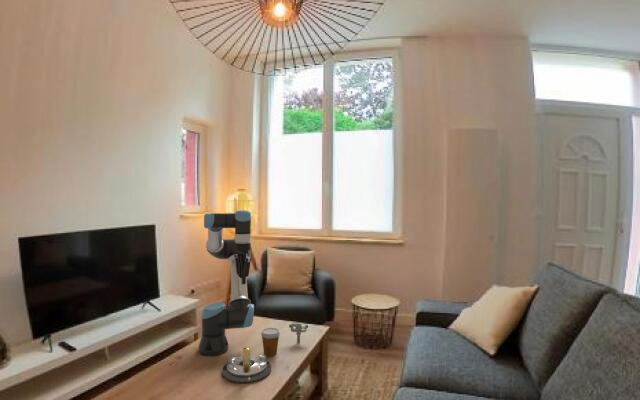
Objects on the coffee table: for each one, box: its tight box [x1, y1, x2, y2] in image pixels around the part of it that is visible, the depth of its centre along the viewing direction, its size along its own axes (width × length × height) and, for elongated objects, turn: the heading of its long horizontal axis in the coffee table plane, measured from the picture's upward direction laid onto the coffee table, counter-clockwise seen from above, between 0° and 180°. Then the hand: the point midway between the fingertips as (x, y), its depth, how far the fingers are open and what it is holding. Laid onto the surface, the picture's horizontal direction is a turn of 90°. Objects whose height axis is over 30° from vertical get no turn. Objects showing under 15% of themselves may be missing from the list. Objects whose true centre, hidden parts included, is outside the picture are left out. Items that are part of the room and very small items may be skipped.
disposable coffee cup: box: [260, 327, 281, 358], centre depth 191 cm, size 10×10×12 cm
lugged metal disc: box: [226, 346, 268, 377], centre depth 173 cm, size 18×18×12 cm
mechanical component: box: [288, 322, 309, 344], centre depth 206 cm, size 3×10×10 cm, turn 89°
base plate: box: [221, 360, 272, 385], centre depth 173 cm, size 22×22×2 cm
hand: (242, 290), depth 184 cm, fingers closed
